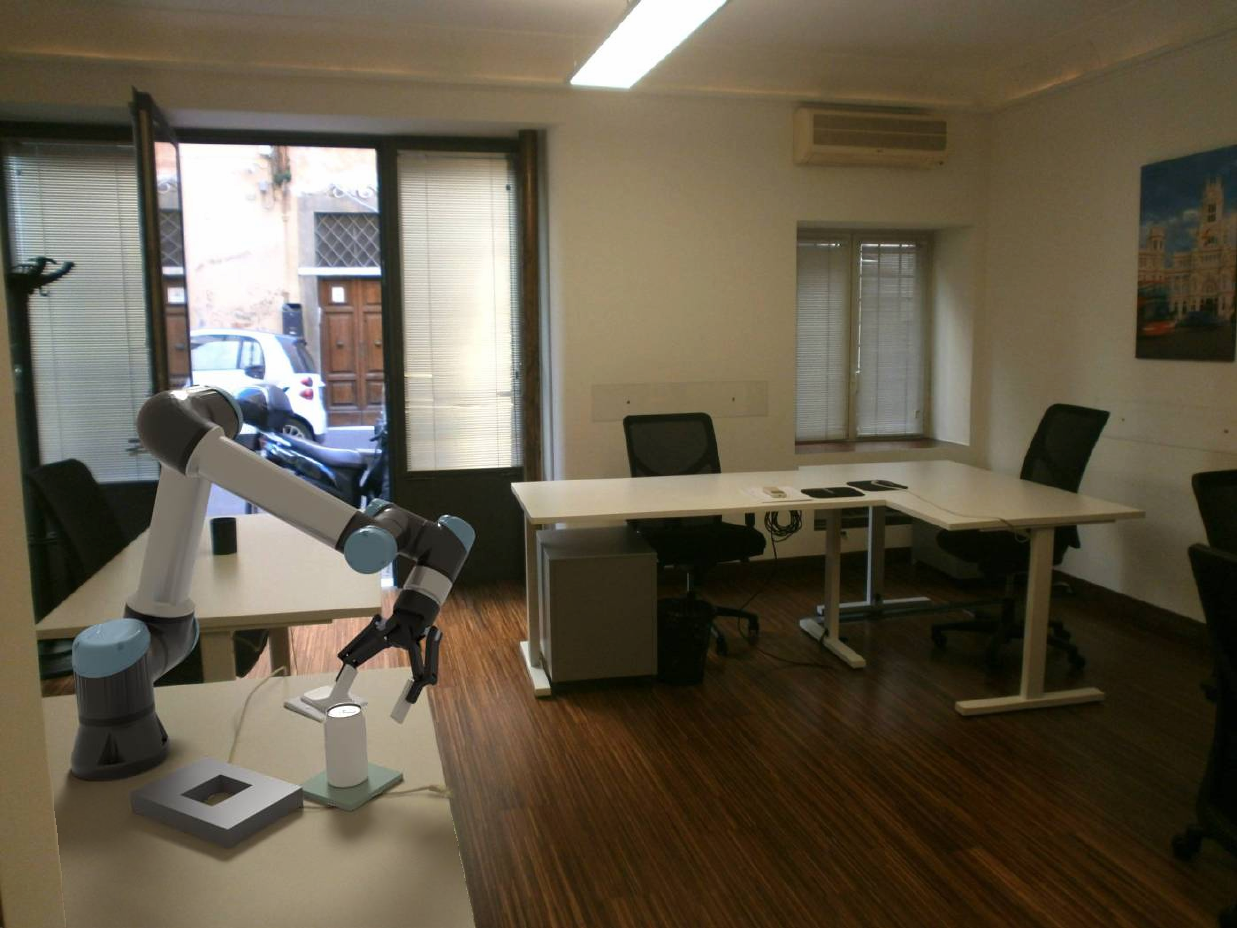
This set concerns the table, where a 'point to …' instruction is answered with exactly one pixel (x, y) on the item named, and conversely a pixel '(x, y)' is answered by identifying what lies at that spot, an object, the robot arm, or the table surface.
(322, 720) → the light switch
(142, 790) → the block
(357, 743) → the can
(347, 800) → the mat
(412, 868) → the table surface
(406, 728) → the table surface
